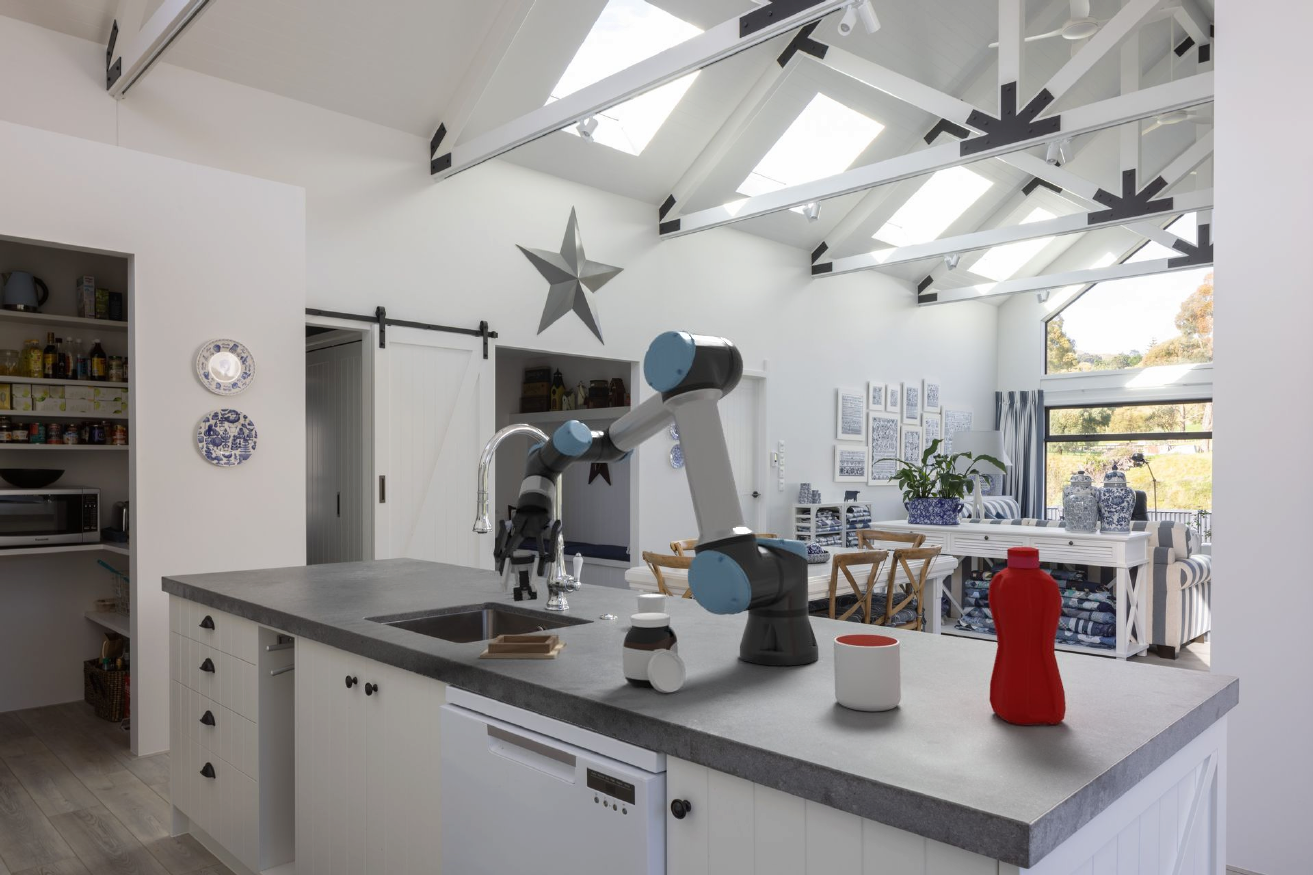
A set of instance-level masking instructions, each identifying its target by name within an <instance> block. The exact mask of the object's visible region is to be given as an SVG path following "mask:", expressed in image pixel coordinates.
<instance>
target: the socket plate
mask: <svg viewBox="0 0 1313 875" xmlns="http://www.w3.org/2000/svg"><path fill="white" fill-rule="evenodd" d="M566 646H567V641H560V640H559V634H499V635H498V636H496V637H495V638H494V639H493V640H492V641H490V642H488V645H487V648H486V649H485V650H484V651H483V652H482V653H480V654H479V656H478V657H479V658H478V659H555V658H556V657H557V656H558V655H559V654H560V652H562V650H563V649H564V648H565V647H566Z"/></svg>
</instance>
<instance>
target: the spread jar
mask: <svg viewBox="0 0 1313 875" xmlns="http://www.w3.org/2000/svg"><path fill="white" fill-rule="evenodd" d="M670 624H671V616H670V614H668V613H665V614H663V613H640V614H639V613H634V614H632V615H630V625H631V626H630V628H629V629H628V631H627V633H626V634H625V637H624V639H623V646H622V647H623V648H622V666H623V667H622V670H623V676H624V679H625V681H627V683H628V684H629V685H631V686H632V687H635V688H638V689H639V688H640V689H647V690H648V689H650V690H653V689H655V690H657V691H658V692H659V693H663V694H668V693H674V692H676V691H678V690H679V689H681V687H682V686H683V685H684V683H685V680H686V674H687V672H686V667H685V662H684V660H683V659H682V657H681V656H680V655H679V646H678V644H679V643H678V636H677V633H676V632H675V630H674V629H673V628H672V627H671V626H670Z"/></svg>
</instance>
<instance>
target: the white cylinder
mask: <svg viewBox="0 0 1313 875" xmlns="http://www.w3.org/2000/svg"><path fill="white" fill-rule="evenodd" d="M636 598H637V608H638V614H640V613H663V614H666V603H667V595H666V594H665V593H664V594H663V593H654V592H653V593H651V592H650V593H642V594H638V595H637V596H636Z"/></svg>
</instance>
